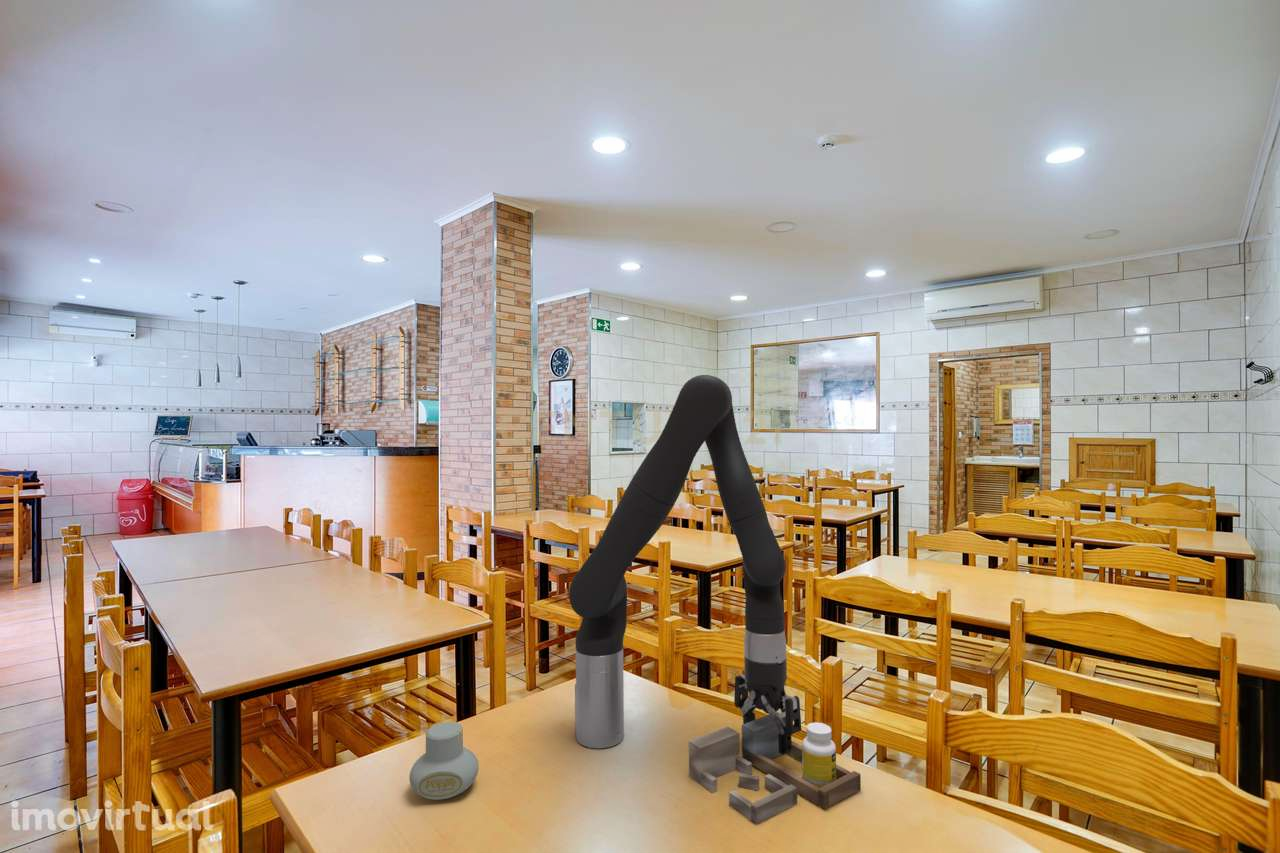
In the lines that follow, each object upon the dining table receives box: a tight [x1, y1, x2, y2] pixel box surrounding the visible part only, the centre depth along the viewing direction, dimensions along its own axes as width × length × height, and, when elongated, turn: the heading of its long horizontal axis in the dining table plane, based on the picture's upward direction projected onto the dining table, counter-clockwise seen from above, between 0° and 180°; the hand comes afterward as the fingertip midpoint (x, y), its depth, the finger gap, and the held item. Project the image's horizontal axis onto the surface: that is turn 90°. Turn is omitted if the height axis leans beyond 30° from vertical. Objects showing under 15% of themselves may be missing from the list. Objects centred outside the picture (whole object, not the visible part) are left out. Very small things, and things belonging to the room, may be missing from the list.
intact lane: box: [741, 711, 862, 810], centre depth 105 cm, size 18×9×6 cm, turn 34°
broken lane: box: [688, 726, 798, 825], centre depth 101 cm, size 16×9×6 cm, turn 34°
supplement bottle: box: [801, 722, 837, 788], centre depth 102 cm, size 5×5×10 cm
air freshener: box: [409, 721, 480, 801], centre depth 102 cm, size 11×8×10 cm
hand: (766, 743), depth 112 cm, fingers open, 8 cm apart
